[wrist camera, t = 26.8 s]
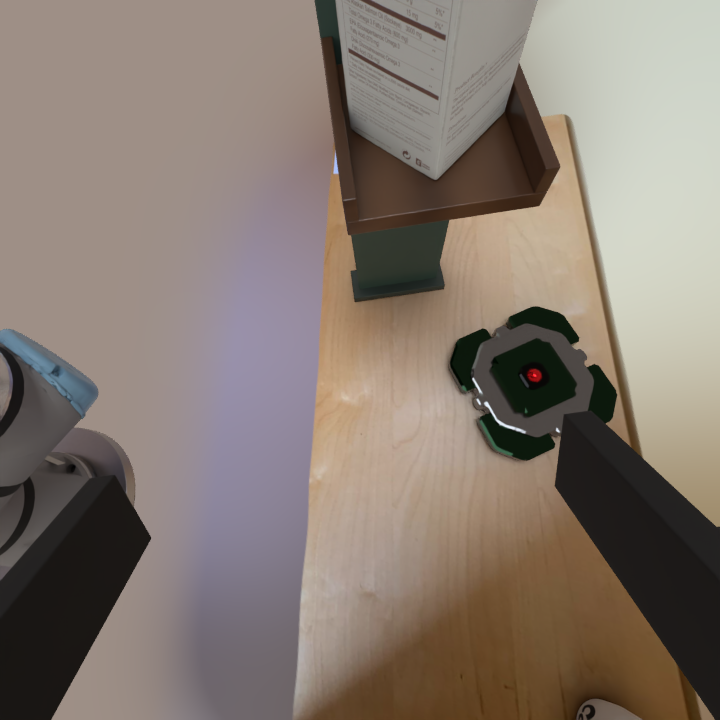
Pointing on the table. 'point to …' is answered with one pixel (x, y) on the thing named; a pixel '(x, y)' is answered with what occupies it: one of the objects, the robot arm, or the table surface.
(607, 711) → the cup
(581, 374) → the four-lobed dark green device
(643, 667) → the table surface
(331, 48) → the door shelf
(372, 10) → the white packaging box
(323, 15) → the door panel
